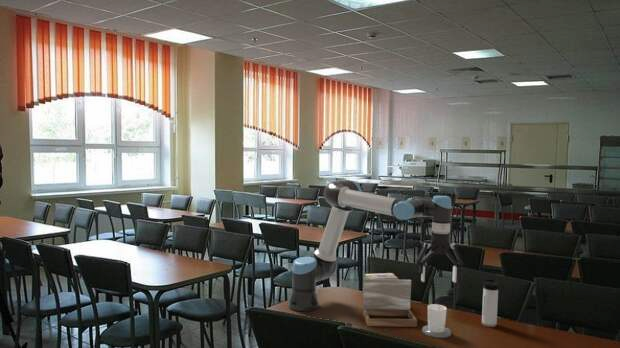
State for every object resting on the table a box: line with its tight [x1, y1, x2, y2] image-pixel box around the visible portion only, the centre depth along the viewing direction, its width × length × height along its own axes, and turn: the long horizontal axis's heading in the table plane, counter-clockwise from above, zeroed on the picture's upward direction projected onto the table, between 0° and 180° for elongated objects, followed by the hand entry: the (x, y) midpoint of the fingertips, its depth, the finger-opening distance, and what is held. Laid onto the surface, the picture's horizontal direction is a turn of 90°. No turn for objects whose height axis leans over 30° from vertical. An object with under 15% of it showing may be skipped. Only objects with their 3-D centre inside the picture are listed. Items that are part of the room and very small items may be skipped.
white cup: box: [427, 303, 447, 333], centre depth 200 cm, size 8×8×10 cm
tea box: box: [364, 272, 399, 280], centre depth 235 cm, size 15×10×15 cm
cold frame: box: [362, 278, 418, 328], centre depth 213 cm, size 15×22×17 cm
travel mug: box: [481, 278, 499, 328], centre depth 211 cm, size 6×7×20 cm
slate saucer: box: [421, 324, 452, 339], centre depth 201 cm, size 12×12×1 cm
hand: (438, 281), depth 199 cm, fingers open, 13 cm apart
